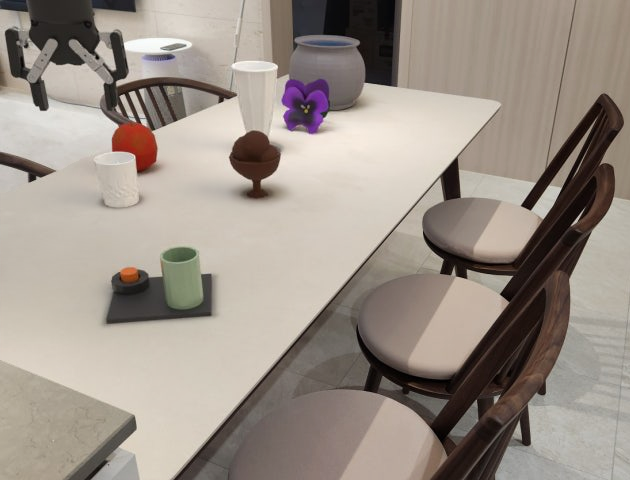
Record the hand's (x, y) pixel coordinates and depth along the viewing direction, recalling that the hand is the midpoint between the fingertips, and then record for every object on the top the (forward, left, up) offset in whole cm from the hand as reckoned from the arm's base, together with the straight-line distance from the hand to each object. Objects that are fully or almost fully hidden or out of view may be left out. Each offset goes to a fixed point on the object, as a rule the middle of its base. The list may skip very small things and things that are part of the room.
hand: (78, 109), depth 87 cm
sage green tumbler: (+12, -6, -28) cm, 31 cm away
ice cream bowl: (+25, +38, -30) cm, 55 cm away
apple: (-2, +58, -30) cm, 65 cm away
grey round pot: (+52, +116, -30) cm, 131 cm away
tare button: (+3, 0, -27) cm, 27 cm away
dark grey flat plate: (+8, -4, -30) cm, 31 cm away
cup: (+27, +69, -30) cm, 80 cm away
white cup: (-3, +37, -30) cm, 48 cm away
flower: (+43, +90, -30) cm, 104 cm away
